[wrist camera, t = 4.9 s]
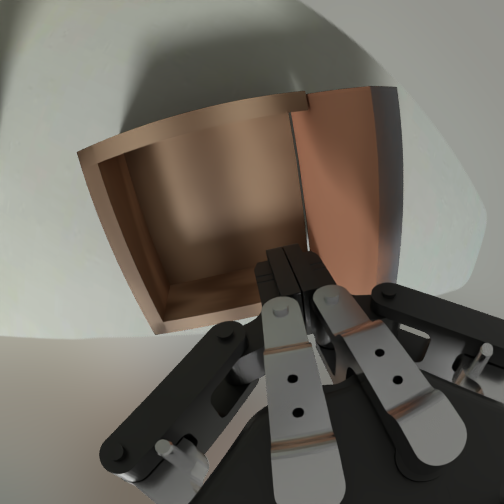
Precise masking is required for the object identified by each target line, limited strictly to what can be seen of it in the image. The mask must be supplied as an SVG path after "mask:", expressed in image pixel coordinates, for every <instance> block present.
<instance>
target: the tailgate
mask: <svg viewBox="0 0 504 504" xmlns="http://www.w3.org/2000/svg"><path fill="white" fill-rule="evenodd" d="M306 99H307V104H308V110H306V111H298V112H291V116H292V121H293V127H294V133H295V139H296V146H297V152H298V159H299V165H300V172H301V180H302V187H303V195H304V202H305V211H306V219H307V228H308V238H309V247H310V251H312V252H314V253H316V254H317V255H319V257H320V258H321V260H322V261H323V263H324V265H325V266H326V268H327V269H328V271H329V273H330V274H331V276H332V277H333V279H334V281H335V282H336V284H337V285H339V286H342V287H344V288H346V289H347V290H348V291H349V293H350V294H352V295H371V292H372V289H373V288H374V287H375V286H376V285H378V284H381V283H386V282H389V283H395V284H396V281H397V274H398V266H399V256H400V246H401V233H402V217H403V148H402V131H401V119H400V109H399V101H398V93H397V87H385V86H367V87H356V88H346V89H338V90H330V91H323V92H316V93H310V94H306Z"/></svg>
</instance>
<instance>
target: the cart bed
mask: <svg viewBox="0 0 504 504" xmlns="http://www.w3.org/2000/svg"><path fill="white" fill-rule="evenodd" d="M306 110H308V104H307V99H306V93H305V91H298V92H289V93H281V94H274V95H267V96H261V97H254V98H249V99H243V100H238V101H233V102H228V103H223V104H219V105H214V106H210V107H206V108H202V109H198V110H194V111H190V112H186V113H182V114H179V115H175V116H172V117H168V118H165V119H162V120H159V121H156V122H152V123H149V124H146V125H143V126H140V127H138V128H135V129H132V130H129V131H126V132H124V133H121V134H118V135H116V136H113V137H111V138H108V139H106V140H103V141H101V142H98V143H96V144H94V145H91V146H89V147H87V148H85V149H82V150H80V151H78V152H77V155H78V158H79V161H80V165H81V168H82V171H83V174H84V177H85V180H86V183H87V186H88V189H89V192H90V195H91V198H92V201H93V203H94V206H95V209H96V211H97V214H98V217H99V219H100V222H101V224H102V227H103V229H104V232H105V234H106V237H107V239H108V241H109V244H110V246H111V248H112V251H113V253H114V255H115V257H116V260H117V262H118V264H119V266H120V268H121V270H122V272H123V275H124V277H125V279H126V281H127V283H128V285H129V287H130V289H131V291H132V293H133V295H134V297H135V299H136V301H137V303H138V305H139V306H140V308H141V310H142V312H143V314H144V316H145V318H146V319H147V321H148V323H149V325H150V327H151V328H152V330H153V332H154V334H155V335H158V334H164V333H170V332H176V331H182V330H188V329H193V328H199V327H204V326H209V325H215V324H218V323H221V322H224V321H235V320H239V319H244V318H249V317H253V316H258V315H259V314H260V313H261V310H262V304H261V300H260V295H259V291H258V286H257V282H256V277H255V273H254V269H255V266H256V264H257V263H258V262H263V261H267V255H266V250H268V249H272V248H277V247H282V246H286V245H290V244H295V243H298V244H299V246H300V248H301V250H302V251H303V252H307V251H308V249H307V240H306V231H305V222H304V213H303V205H302V198H301V190H300V183H299V176H298V169H297V162H296V155H295V149H294V143H293V137H292V131H291V125H290V119H289V114H288V113H290V112H298V111H306Z"/></svg>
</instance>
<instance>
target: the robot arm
mask: <svg viewBox="0 0 504 504" xmlns="http://www.w3.org/2000/svg"><path fill="white" fill-rule="evenodd" d="M266 255H267V261H263V262H258V263H257V264H256V266H255V269H254V273H255V277H256V282H257V286H258V291H259V295H260V300H261V304H262V310H261V313H260V314H259V316H258V317H257V318H256V319H254V320H253V321H251V322H250V323H248V324H245V325H242V324H240V323H238V322H235V321H224V322H221V323H218V324H217V325H215V326H213V327H212V328H211V329H210V330H209V331H208V332H207V333H206V335H205V336H204V337H203V338H202V339H201V340H200V341H199V342H198V343H197V344H196V345H195V347H194V348H193V349H192V350H191V351H190V352H189V353H188V354H187V355H186V356H185V357H184V358H183V360H182V361H181V362H180V363H179V364H178V365H177V366H176V367H175V368H174V369H173V370H172V371H171V372H170V373H169V375H168V376H167V377H166V378H165V379H164V380H163V381H162V382H161V383H160V384H159V385H158V386H157V387H156V388H155V389H154V390H153V391H152V393H151V394H150V395H149V396H148V397H147V398H146V399H145V400H144V401H143V402H142V403H141V404H140V405H139V406H138V407H137V408H136V409H135V410H134V411H133V412H132V413H131V415H130V416H129V417H128V418H127V419H126V420H125V421H124V422H123V423H122V424H121V425H120V426H119V427H118V428H117V429H116V430H115V431H114V432H113V433H112V434H111V435H110V436H109V437H108V438H107V439H106V440H105V441H104V443H103V444H102V446H101V448H100V453H99V456H100V461H101V464H102V465H103V467H104V468H105V469H106V470H107V471H109V472H111V473H113V474H115V475H116V476H118V477H120V478H121V479H122V480H124V481H126V482H128V483H130V484H133V485H135V486H136V487H137V488H138V489H140V490H141V491H142V492H143V493H144V494H145V495H147V496H148V497H149V498H150V499H151V500H152V501H154V502H155V503H156V504H504V320H503V319H500V318H497V317H494V316H491V315H488V314H485V313H482V312H480V311H477V310H473V309H471V308H467V307H465V306H462V305H459V304H456V303H453V302H450V301H447V300H444V299H441V298H438V297H435V296H432V295H429V294H426V293H423V292H420V291H417V290H413V289H410V288H407V287H404V286H401V285H398V284H395V283H389V282H386V283H381V284H378V285H376V286H375V287H374V288H373V289H372V292H371V295H352V294H350V293H349V291H348V290H347V289H346V288H344V287H342V286H339V285H337V284H336V282H335V281H334V279H333V277H332V276H331V274H330V273H329V271H328V269H327V268H326V266H325V265H324V263H323V261H322V260H321V258H320V257H319V255H317V254H316V253H314V252H312V251H307V252H303V251H302V250H301V248H300V246H299V244H298V243H295V244H290V245H286V246H282V247H277V248H272V249H268V250H266ZM400 324H404V325H407V326H409V327H412V328H415V329H417V330H420V331H423V332H425V333H427V334H428V335H429V336H430V339H426V338H423V337H421V336H418V335H415V334H413V333H410V332H407V331H405V330H402V329H400ZM309 334H314V336H315V342H316V349H317V351H318V353H319V355H320V357H321V359H322V361H323V364H324V366H325V368H326V370H327V372H328V374H329V376H330V378H331V380H332V382H333V385H322V383H321V379H320V376H319V372H318V368H317V363H316V359H315V355H314V351H313V348H312V344H311V343H310V342H309V341H308V337H307V335H309ZM264 375H266V376H265V377H266V388H267V399H268V405H267V406H266V407H264V408H263V409H262V410H260V411H258V412H257V413H256V414H255V415H254V416H253V417H252V418H251V419H250V420H249V421H248V422H247V424H246V425H245V427H244V428H243V430H242V431H241V433H240V434H239V436H238V437H237V439H236V440H235V442H234V443H233V445H232V446H231V447H230V449H229V450H228V452H227V453H226V455H225V456H224V457H223V459H222V460H221V462H220V463H219V464H218V466H217V467H216V468H215V470H214V471H213V473H212V474H211V475H210V476H209V478H208V479H207V480H206V482H205V483H204V484H203V480H204V477H205V476H206V474H207V472H208V469H209V462H208V459H207V457H206V456H205V455H204V454H205V453H206V452H207V451H208V449H209V448H210V447H211V446H212V444H213V443H214V442H215V441H216V439H217V438H218V436H219V435H220V434H221V433H222V432H223V430H224V429H225V428H226V426H227V425H228V424H229V422H230V421H231V420H232V418H233V417H234V416H235V414H236V413H237V412H238V410H239V409H240V407H241V406H242V405H243V403H244V402H245V401H246V399H247V398H248V396H249V395H250V394H251V392H252V391H253V389H254V388H255V387H256V385H257V383H258V381H259V378H260V377H262V376H264ZM202 484H203V486H202Z"/></svg>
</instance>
